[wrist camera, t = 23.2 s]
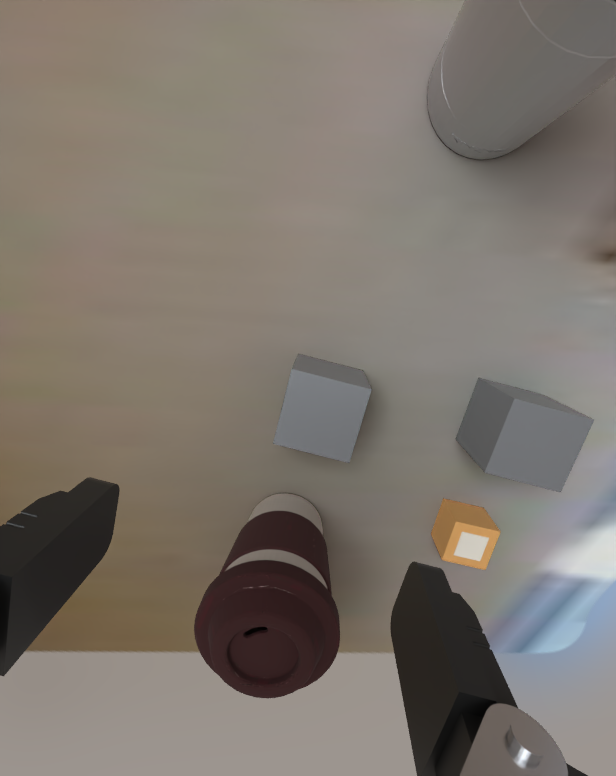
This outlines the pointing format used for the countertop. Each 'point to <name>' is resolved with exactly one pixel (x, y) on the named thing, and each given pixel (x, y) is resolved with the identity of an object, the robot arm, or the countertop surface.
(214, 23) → the countertop surface
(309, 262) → the countertop surface
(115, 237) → the countertop surface
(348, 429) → the plain grey cube
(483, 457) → the matte grey cube
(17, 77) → the countertop surface
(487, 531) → the letter cube
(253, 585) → the coffee cup
